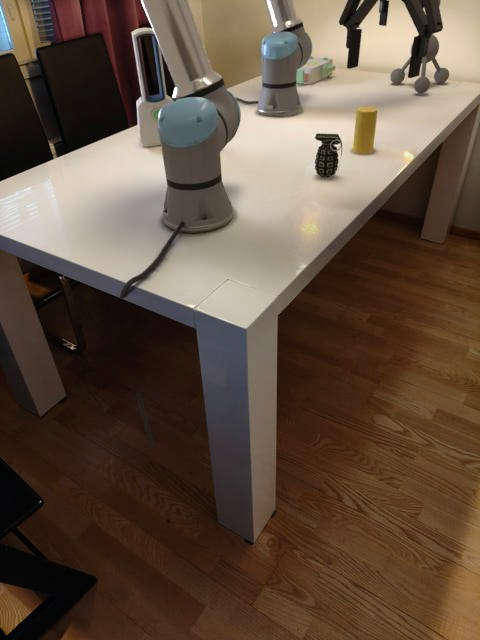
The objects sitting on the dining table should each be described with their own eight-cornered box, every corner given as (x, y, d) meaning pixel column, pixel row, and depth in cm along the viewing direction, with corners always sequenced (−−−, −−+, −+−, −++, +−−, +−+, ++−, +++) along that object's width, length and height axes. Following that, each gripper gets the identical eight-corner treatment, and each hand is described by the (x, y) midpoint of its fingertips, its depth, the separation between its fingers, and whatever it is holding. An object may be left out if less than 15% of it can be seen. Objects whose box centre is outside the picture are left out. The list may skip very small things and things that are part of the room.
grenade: (312, 179, 121) (313, 138, 114) (314, 171, 125) (316, 131, 119) (338, 181, 119) (342, 139, 113) (340, 172, 124) (344, 132, 117)
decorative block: (301, 54, 217) (341, 57, 207) (300, 70, 221) (340, 74, 211) (269, 65, 201) (312, 69, 191) (269, 82, 205) (311, 87, 195)
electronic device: (141, 147, 146) (122, 33, 128) (139, 140, 152) (119, 29, 134) (182, 142, 149) (168, 28, 130) (178, 135, 154) (164, 25, 136)
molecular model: (468, 88, 182) (489, -8, 163) (419, 97, 176) (435, -2, 158) (427, 77, 199) (442, -12, 181) (381, 84, 193) (392, -7, 175)
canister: (365, 155, 132) (369, 113, 126) (348, 151, 136) (352, 109, 129) (376, 150, 135) (382, 108, 128) (360, 146, 138) (364, 105, 132)
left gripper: (484, -74, 75) (452, 77, 88) (351, -68, 90) (341, 61, 103) (461, -73, 71) (431, 84, 84) (326, -67, 86) (318, 67, 99)
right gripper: (384, -61, 133) (375, 28, 146) (454, -66, 141) (439, 19, 154) (367, -61, 139) (360, 26, 152) (436, -65, 146) (423, 17, 159)
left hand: (381, 72), depth 94 cm, fingers open, 13 cm apart
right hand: (400, 23), depth 153 cm, fingers open, 13 cm apart
